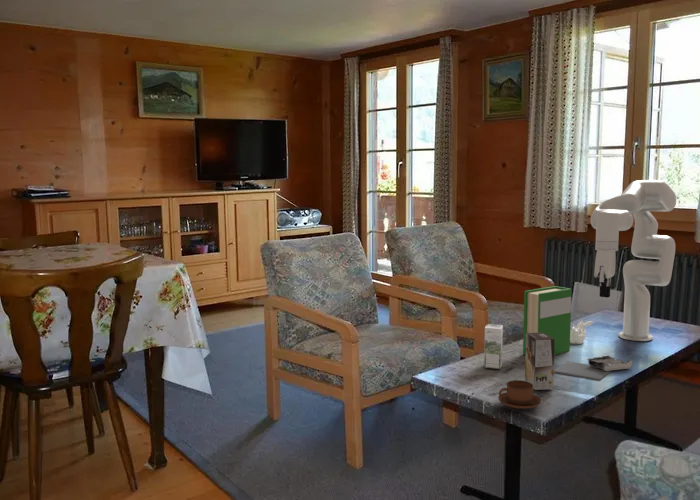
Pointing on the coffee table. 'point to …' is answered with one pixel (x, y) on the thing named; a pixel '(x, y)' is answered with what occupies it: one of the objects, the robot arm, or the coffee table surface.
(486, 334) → the syrup box
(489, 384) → the coffee table surface
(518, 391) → the cup and saucer
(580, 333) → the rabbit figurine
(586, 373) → the mat
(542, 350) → the coffee box
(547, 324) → the hardback book
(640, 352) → the coffee table surface
